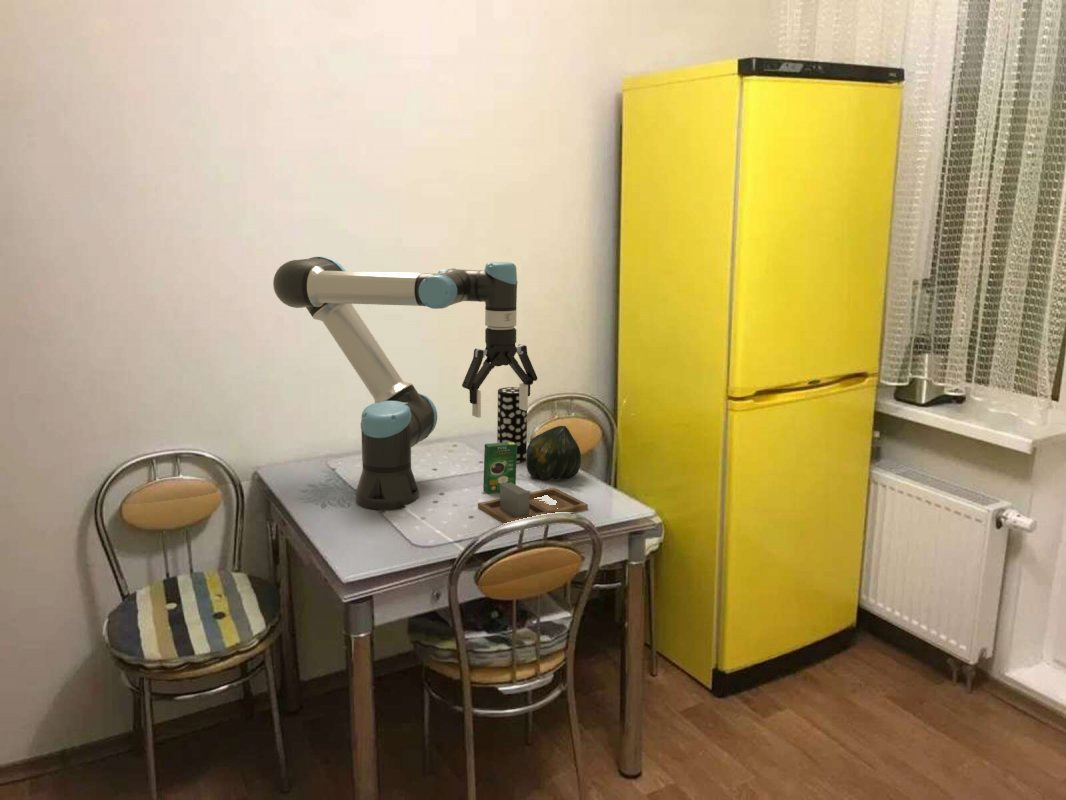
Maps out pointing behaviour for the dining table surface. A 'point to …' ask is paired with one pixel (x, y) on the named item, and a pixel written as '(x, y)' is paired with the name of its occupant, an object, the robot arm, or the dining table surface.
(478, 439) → the dining table surface
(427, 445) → the dining table surface
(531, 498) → the tray
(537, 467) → the squash
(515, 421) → the white-spotted black cylinder
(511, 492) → the block
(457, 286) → the robot arm
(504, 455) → the coffee box
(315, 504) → the dining table surface
